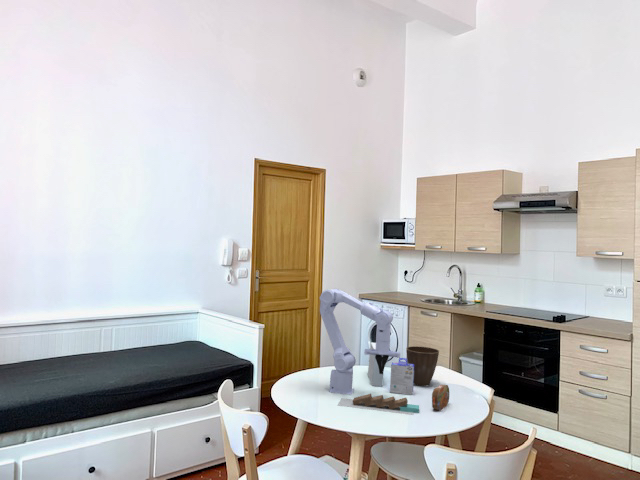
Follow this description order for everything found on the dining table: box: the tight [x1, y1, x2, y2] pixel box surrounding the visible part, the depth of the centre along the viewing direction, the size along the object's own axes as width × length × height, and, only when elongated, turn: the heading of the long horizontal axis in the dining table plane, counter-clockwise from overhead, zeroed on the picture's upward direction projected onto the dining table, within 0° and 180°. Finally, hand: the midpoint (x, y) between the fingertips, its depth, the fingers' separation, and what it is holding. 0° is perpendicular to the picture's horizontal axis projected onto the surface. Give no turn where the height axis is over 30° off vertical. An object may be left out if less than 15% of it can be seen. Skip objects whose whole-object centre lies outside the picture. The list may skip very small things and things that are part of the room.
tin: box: [431, 384, 450, 412], centre depth 195 cm, size 15×3×8 cm, turn 148°
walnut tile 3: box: [376, 395, 396, 408], centre depth 191 cm, size 2×4×7 cm
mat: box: [336, 397, 414, 416], centre depth 192 cm, size 29×10×1 cm, turn 77°
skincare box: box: [367, 342, 384, 387], centre depth 231 cm, size 21×5×16 cm, turn 179°
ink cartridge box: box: [389, 357, 415, 396], centre depth 214 cm, size 10×6×14 cm, turn 78°
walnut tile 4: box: [388, 397, 408, 409], centre depth 190 cm, size 2×4×7 cm
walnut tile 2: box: [364, 394, 385, 407], centre depth 192 cm, size 2×4×7 cm
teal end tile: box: [400, 403, 420, 414], centre depth 189 cm, size 2×4×7 cm
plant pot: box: [406, 345, 440, 387], centre depth 228 cm, size 15×15×16 cm
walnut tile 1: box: [352, 393, 373, 405], centre depth 193 cm, size 2×4×7 cm
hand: (381, 373), depth 203 cm, fingers closed
